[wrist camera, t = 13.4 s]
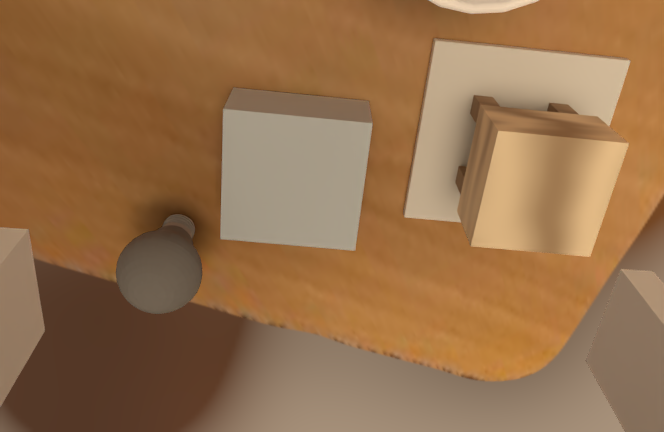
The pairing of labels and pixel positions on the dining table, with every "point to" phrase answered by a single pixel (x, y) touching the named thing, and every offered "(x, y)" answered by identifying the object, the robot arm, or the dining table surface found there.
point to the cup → (481, 5)
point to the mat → (509, 91)
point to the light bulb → (161, 267)
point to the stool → (537, 178)
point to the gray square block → (293, 168)
